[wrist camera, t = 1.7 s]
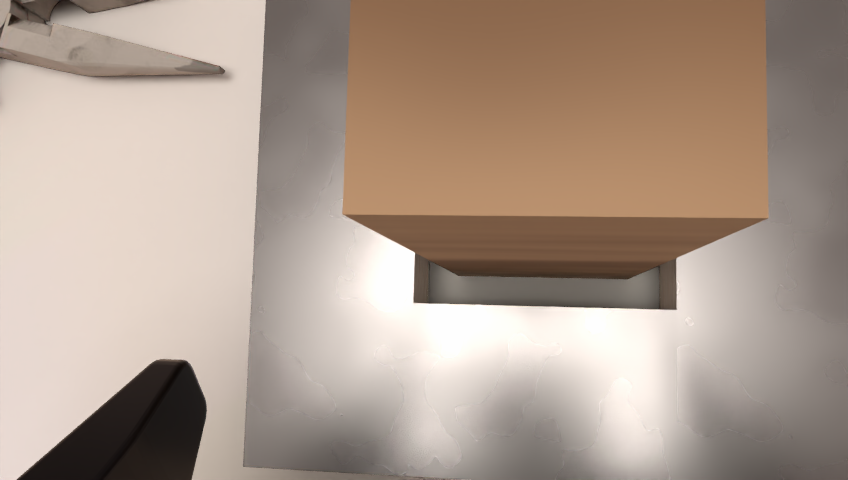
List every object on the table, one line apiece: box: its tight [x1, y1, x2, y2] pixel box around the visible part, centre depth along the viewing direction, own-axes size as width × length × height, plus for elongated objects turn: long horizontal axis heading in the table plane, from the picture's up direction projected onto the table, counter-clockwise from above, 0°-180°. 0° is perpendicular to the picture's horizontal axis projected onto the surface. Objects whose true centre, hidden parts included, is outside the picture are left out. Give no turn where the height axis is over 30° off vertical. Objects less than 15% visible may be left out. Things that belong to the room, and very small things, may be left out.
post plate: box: [243, 0, 848, 480], centre depth 19 cm, size 14×14×2 cm
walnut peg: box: [342, 0, 769, 279], centre depth 14 cm, size 4×4×12 cm
